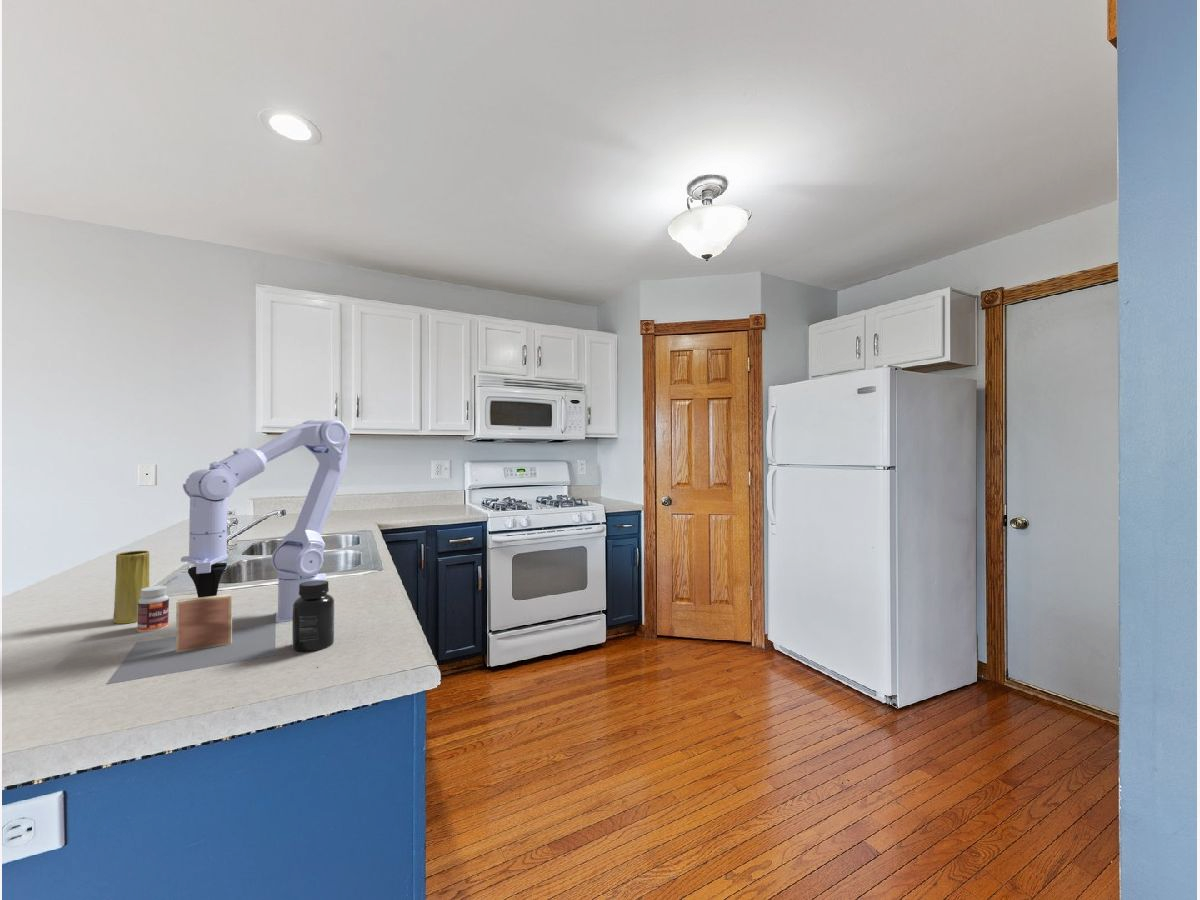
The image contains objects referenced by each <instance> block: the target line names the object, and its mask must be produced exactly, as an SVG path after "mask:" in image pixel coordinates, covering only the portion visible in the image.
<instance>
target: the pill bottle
mask: <svg viewBox="0 0 1200 900" xmlns="http://www.w3.org/2000/svg"><path fill="white" fill-rule="evenodd" d="M167 589H168V588H167V586H165V585H153V586H149V587H147V588H143V589H141V593H140V596H141V597H142V598H141V599H140V600H139V601H138V622H137V632H140V633H141V632H145V633H146V632H147V633H148V632H154V631H159V630H162V629H165V628H167V627H168V626H169V612H170V611H169V609H170V605H169V604H170V598H169V596H168V595H167V592H168V590H167Z"/></svg>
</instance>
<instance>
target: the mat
mask: <svg viewBox="0 0 1200 900" xmlns="http://www.w3.org/2000/svg"><path fill="white" fill-rule="evenodd" d="M276 627H277V623H276V622H272V623H263V624H258V625H256V624H255V625H251V626H241V627H236V628H235V627H234V628H232V642H231V644H229V645H222V646H216V647H209V648H203V649H197V650H190V651H184V652H177V653H176V636H172V637H167V638H159V639H151V640H145V641H139V642H135V643H134V645H133V647H132V648H131V649H130V651H129V653H127V655H126V656H125V658H124V659H123V661H121V663H120V665H119V666H118V667H117V669H116V670H115V672H114V673H113V675H112V676H111V677H110V678H109V680H108V681H107V682H106V685H112V684H118V683H123V682H129V681H135V680H141V679H146V678H152V677H158V676H159V677H160V676H163V675H169V674H171V675H172V674H175V673H182V672H187V671H193V670H199V669H204V668H209V667H210V668H212V667H215V666H216V667H217V666H223V665H227V664H228V665H229V664H235V663H239V662H246V661H252V660H257V659H263V658H268V657H273V656H276V631H277V630H276Z"/></svg>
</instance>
